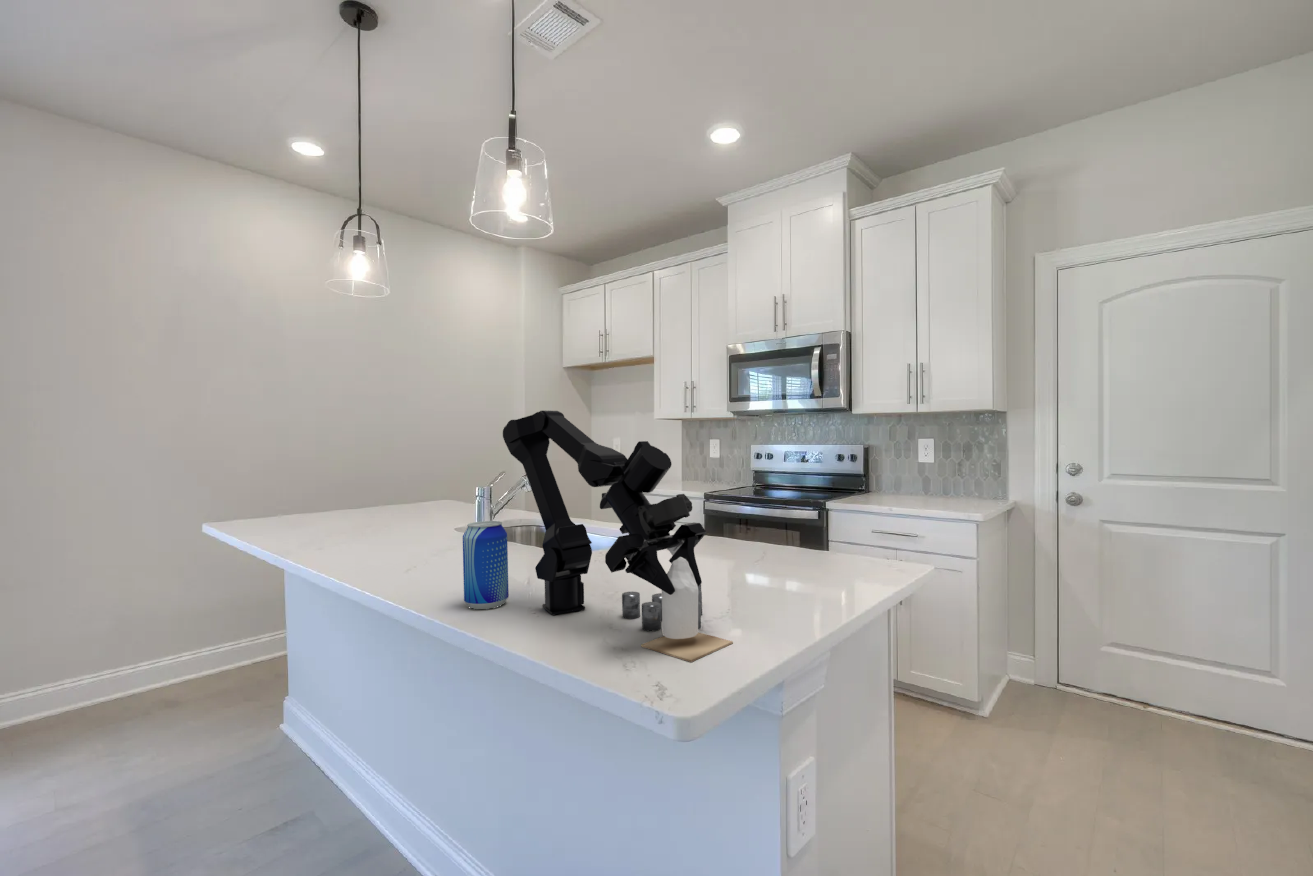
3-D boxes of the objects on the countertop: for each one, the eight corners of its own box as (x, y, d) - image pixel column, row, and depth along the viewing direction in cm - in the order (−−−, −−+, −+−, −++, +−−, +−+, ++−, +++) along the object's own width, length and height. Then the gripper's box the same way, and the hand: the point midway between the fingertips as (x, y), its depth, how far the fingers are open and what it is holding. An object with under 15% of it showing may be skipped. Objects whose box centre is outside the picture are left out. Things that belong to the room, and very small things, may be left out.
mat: (641, 646, 91) (641, 644, 91) (683, 630, 98) (683, 628, 98) (691, 662, 84) (691, 660, 84) (732, 643, 91) (732, 641, 91)
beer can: (485, 613, 111) (482, 527, 111) (454, 607, 115) (452, 525, 115) (517, 602, 118) (515, 521, 118) (488, 597, 122) (486, 519, 122)
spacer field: (655, 637, 95) (655, 612, 95) (619, 615, 107) (619, 593, 107) (739, 621, 102) (738, 598, 102) (696, 602, 115) (695, 581, 115)
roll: (679, 550, 96) (705, 555, 92) (680, 624, 96) (707, 632, 92) (652, 556, 92) (679, 561, 88) (654, 634, 92) (680, 642, 88)
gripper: (616, 482, 88) (673, 567, 80) (696, 475, 101) (751, 547, 94) (583, 530, 93) (633, 614, 86) (663, 517, 107) (713, 588, 99)
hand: (686, 588), depth 91 cm, fingers closed on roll, 6 cm apart
